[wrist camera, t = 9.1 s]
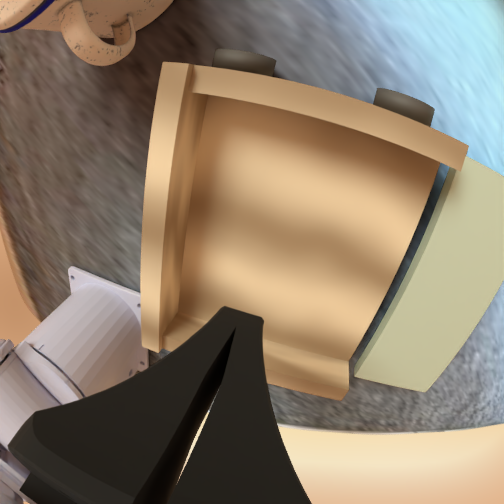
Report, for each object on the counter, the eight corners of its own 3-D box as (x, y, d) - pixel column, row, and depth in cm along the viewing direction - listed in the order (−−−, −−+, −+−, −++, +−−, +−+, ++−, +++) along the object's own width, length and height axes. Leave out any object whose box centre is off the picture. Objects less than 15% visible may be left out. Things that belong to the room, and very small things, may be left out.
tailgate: (354, 360, 20) (422, 376, 20) (354, 376, 19) (425, 392, 18) (450, 149, 13) (526, 191, 12) (461, 153, 12) (539, 199, 11)
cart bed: (335, 362, 22) (334, 415, 18) (172, 313, 23) (142, 357, 19) (439, 117, 13) (480, 123, 9) (208, 53, 14) (167, 37, 10)
